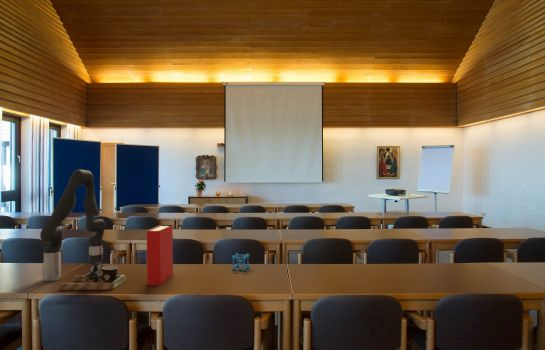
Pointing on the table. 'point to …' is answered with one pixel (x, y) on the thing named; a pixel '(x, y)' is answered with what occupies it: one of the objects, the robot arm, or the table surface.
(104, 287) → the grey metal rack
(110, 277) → the coffee mug
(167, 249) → the book
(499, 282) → the table surface
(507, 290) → the table surface
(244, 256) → the molecular structure
